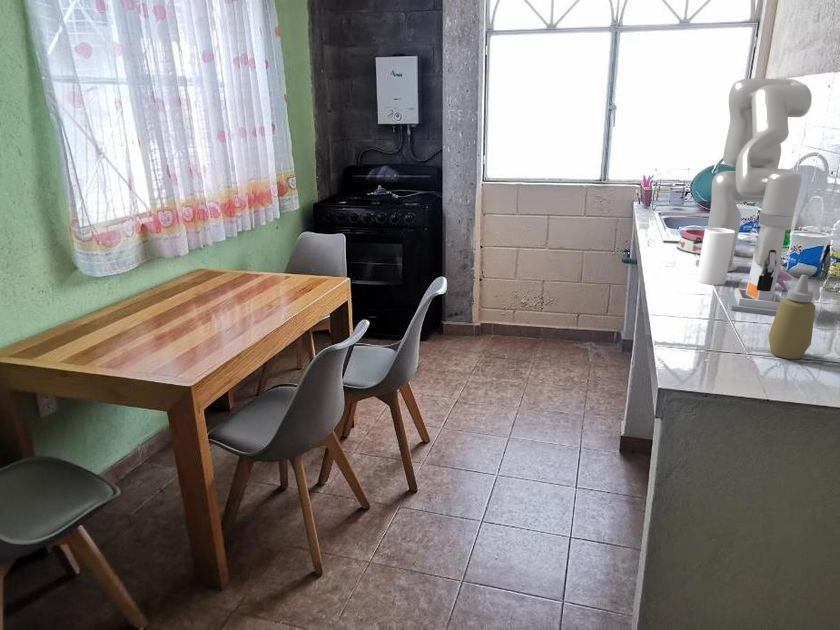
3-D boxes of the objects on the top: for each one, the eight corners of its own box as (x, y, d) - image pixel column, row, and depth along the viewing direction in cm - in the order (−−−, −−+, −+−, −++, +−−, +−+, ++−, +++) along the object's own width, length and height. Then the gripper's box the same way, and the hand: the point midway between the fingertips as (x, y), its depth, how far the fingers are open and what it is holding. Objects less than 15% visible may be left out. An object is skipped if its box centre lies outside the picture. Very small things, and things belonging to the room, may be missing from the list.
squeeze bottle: (756, 347, 136) (774, 270, 130) (790, 347, 137) (809, 270, 131) (779, 362, 128) (799, 280, 122) (815, 362, 129) (837, 280, 123)
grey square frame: (725, 295, 173) (727, 285, 172) (781, 302, 169) (783, 291, 168) (731, 310, 161) (733, 299, 160) (790, 317, 156) (793, 306, 155)
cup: (719, 278, 191) (729, 228, 186) (729, 285, 183) (739, 233, 178) (692, 277, 192) (701, 226, 186) (701, 284, 184) (710, 232, 179)
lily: (792, 300, 174) (808, 270, 173) (754, 282, 175) (770, 252, 174) (771, 300, 186) (786, 272, 185) (736, 283, 187) (751, 255, 186)
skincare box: (744, 294, 167) (753, 252, 163) (759, 294, 167) (768, 252, 163) (757, 301, 161) (767, 257, 157) (772, 301, 161) (782, 257, 157)
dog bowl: (732, 249, 232) (735, 232, 229) (727, 259, 216) (730, 240, 214) (680, 243, 240) (683, 226, 238) (672, 252, 225) (675, 233, 223)
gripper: (754, 214, 166) (741, 277, 172) (764, 225, 150) (749, 293, 156) (785, 216, 163) (771, 280, 169) (798, 228, 148) (782, 297, 154)
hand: (761, 286), depth 163 cm, fingers closed on skincare box, 7 cm apart
